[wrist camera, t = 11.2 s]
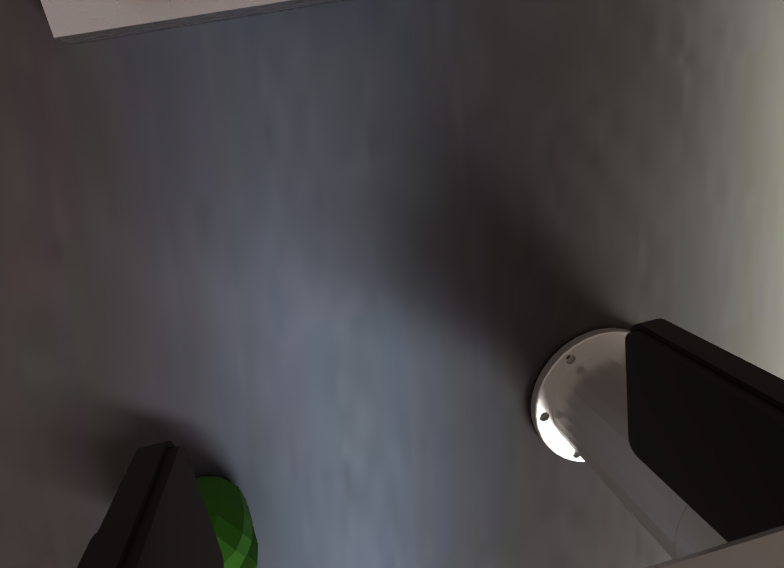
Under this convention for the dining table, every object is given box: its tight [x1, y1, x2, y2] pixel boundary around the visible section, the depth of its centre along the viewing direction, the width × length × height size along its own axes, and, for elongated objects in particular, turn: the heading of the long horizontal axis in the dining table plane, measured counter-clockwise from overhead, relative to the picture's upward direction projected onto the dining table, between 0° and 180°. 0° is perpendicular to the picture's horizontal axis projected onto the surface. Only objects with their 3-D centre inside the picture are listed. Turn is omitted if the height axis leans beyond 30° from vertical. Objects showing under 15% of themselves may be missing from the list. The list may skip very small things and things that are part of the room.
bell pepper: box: [196, 476, 258, 568], centre depth 36 cm, size 8×8×10 cm
